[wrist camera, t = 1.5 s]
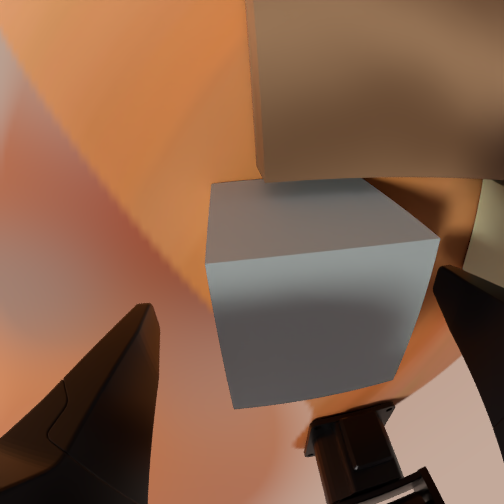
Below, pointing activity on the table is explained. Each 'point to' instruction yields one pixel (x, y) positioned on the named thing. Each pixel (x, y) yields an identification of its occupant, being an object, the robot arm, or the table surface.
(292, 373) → the slate block
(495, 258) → the sage block
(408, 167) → the walnut base
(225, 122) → the table surface
